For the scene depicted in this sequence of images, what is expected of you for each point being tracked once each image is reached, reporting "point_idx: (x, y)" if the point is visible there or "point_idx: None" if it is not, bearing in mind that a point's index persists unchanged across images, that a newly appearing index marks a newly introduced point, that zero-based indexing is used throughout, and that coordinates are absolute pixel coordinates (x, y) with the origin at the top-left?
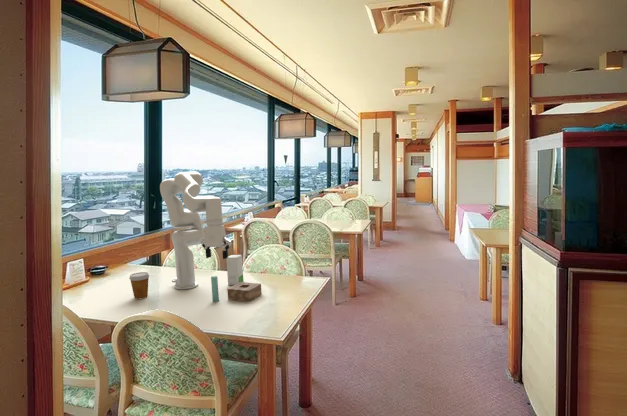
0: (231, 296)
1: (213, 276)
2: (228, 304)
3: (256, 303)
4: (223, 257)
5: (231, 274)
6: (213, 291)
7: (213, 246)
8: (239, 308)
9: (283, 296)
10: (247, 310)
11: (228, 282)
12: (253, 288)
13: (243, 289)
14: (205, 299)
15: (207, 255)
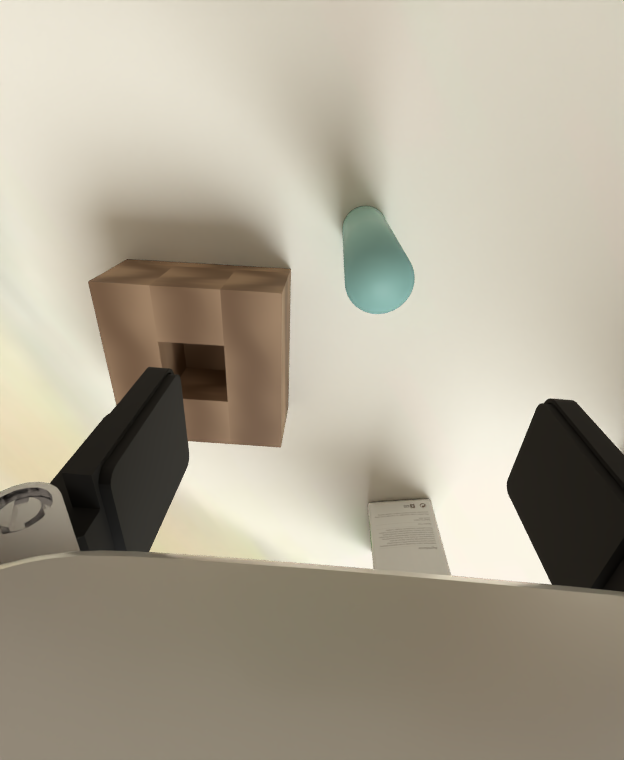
0: (257, 274)
1: (394, 292)
2: (231, 177)
3: (64, 240)
4: (148, 378)
5: (414, 552)
6: (370, 219)
7: (354, 571)
8: (97, 107)
9: (13, 386)
10: (11, 77)
11: (429, 510)
12: (105, 345)
13: (148, 302)
14: (457, 244)
15: (561, 432)
